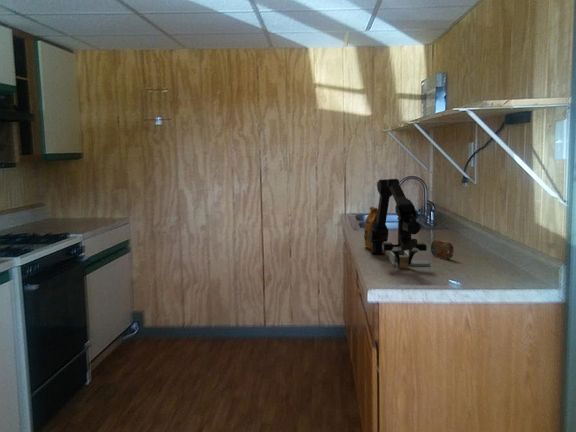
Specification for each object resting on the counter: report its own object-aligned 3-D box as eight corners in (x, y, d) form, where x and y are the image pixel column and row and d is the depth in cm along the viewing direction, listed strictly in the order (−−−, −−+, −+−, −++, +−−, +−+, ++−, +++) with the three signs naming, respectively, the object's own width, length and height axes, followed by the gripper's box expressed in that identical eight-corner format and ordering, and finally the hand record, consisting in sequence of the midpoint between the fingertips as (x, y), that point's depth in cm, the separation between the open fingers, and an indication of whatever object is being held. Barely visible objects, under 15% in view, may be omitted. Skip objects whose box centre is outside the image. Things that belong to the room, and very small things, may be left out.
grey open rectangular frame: (389, 259, 266) (389, 249, 266) (405, 259, 266) (405, 249, 266) (393, 265, 254) (393, 254, 253) (410, 265, 253) (410, 254, 253)
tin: (430, 255, 277) (430, 238, 276) (435, 254, 278) (435, 238, 277) (448, 260, 263) (449, 243, 262) (454, 260, 264) (455, 242, 263)
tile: (409, 262, 259) (409, 260, 259) (426, 262, 259) (426, 260, 259) (412, 266, 251) (412, 263, 251) (430, 266, 251) (430, 263, 251)
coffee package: (366, 250, 289) (367, 208, 286) (362, 246, 301) (363, 206, 299) (385, 250, 289) (386, 208, 287) (381, 246, 302) (381, 206, 299)
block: (397, 266, 251) (397, 255, 251) (406, 266, 251) (406, 255, 251) (399, 268, 247) (399, 257, 247) (408, 268, 247) (408, 257, 247)
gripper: (385, 233, 238) (385, 269, 240) (429, 233, 237) (428, 269, 239) (382, 229, 249) (381, 264, 251) (424, 230, 248) (423, 264, 250)
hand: (403, 265), depth 248 cm, fingers closed on block, 4 cm apart
